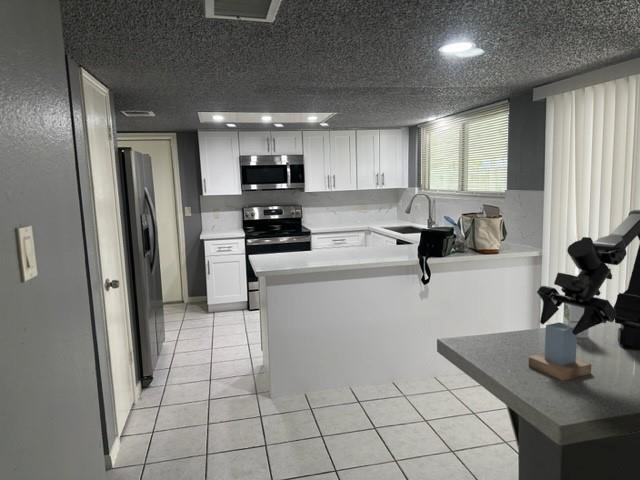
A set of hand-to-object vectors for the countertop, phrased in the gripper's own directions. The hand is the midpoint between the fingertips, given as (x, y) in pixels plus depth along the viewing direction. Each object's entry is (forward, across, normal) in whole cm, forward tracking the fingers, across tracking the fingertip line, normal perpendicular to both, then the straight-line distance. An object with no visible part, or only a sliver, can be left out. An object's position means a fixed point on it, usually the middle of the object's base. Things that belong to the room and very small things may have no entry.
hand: (556, 328), depth 110 cm
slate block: (+5, 0, +7) cm, 9 cm away
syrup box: (-12, -16, +28) cm, 35 cm away
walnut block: (+7, 0, +9) cm, 12 cm away
